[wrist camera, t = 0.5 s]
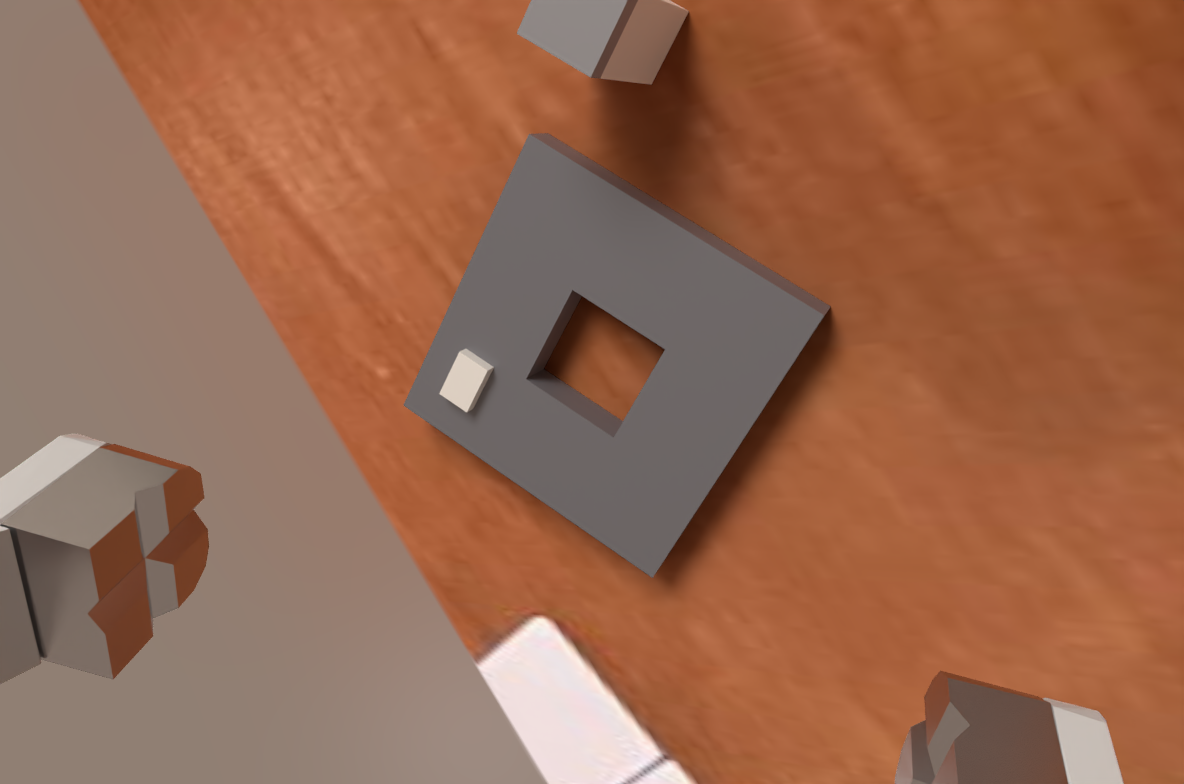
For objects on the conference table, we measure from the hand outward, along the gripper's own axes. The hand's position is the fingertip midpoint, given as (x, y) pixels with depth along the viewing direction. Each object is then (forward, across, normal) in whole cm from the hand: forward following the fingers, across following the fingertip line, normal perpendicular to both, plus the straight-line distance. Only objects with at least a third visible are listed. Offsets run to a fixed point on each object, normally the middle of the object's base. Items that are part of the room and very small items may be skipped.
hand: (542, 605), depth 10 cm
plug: (+44, +8, +2) cm, 45 cm away
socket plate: (+40, +6, +19) cm, 45 cm away
